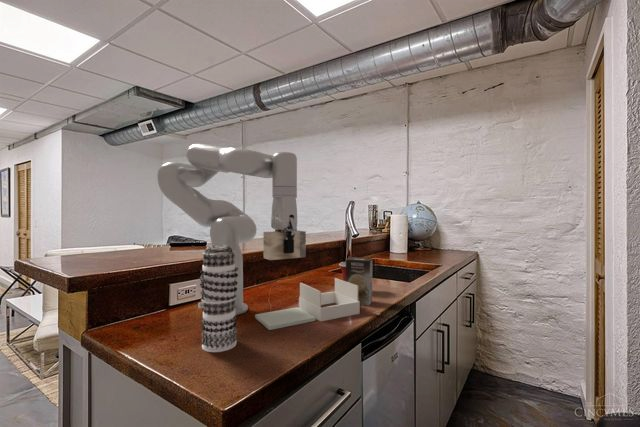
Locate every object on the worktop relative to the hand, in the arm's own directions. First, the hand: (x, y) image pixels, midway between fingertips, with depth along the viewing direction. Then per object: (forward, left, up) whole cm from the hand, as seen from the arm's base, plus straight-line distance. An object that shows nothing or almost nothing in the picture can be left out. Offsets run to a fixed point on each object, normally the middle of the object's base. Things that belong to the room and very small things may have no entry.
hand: (284, 251), depth 101 cm
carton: (+16, 0, -21) cm, 27 cm away
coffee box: (+31, +3, -21) cm, 38 cm away
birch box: (0, 0, -2) cm, 2 cm away
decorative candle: (-22, -9, -21) cm, 32 cm away
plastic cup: (+38, +17, -21) cm, 47 cm away
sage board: (0, 0, -21) cm, 21 cm away
